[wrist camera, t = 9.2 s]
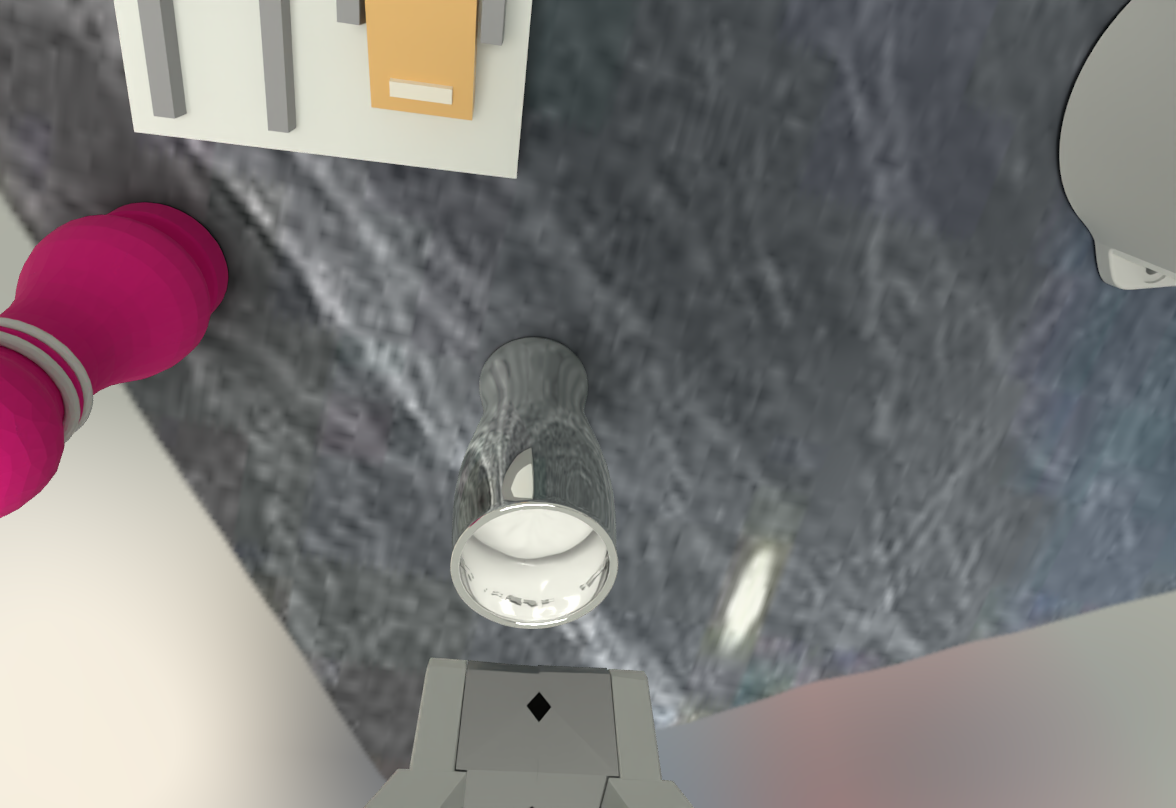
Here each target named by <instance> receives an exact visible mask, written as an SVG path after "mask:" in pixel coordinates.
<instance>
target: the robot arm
mask: <svg viewBox="0 0 1176 808" xmlns="http://www.w3.org/2000/svg"><path fill="white" fill-rule="evenodd" d="M1059 161H1060V172H1061V178H1062V183H1063V186H1064V190H1065V193H1066V195H1067V198H1068V200H1069V202H1070V204H1071V206H1072V208H1073V209H1074V211H1075V212H1076V214H1077V215H1078V216H1079V218H1080V219H1081V220H1082V222H1083V223H1084V224H1085V225H1086V227H1087V228H1088V229H1089V231H1090V232H1091V234H1092V236H1093V238H1094V240H1095V249H1096V258H1097V265H1098V270H1099V273H1100V276H1101V278H1102V280H1103V281H1104V282H1105V283H1107V284H1109V285H1112V286H1115V287H1117V288H1120V289H1124V290H1132V289H1144V288H1157V287H1169V286H1176V0H1131V1H1130V2H1129V4H1128V5H1127V6H1126V7H1125V8H1124V9H1123V10H1122V11H1121V12H1120V13H1119V15H1118V16H1117V17H1116V18H1115V20H1114V21H1113V22H1112V23H1111V24H1110V26H1109V27H1108V28H1107V30H1106V31H1105V33H1104V34H1103V35H1102V37H1101V38H1100V40H1099V41H1098V43H1097V44H1096V46H1095V47H1094V49H1093V50H1092V52H1091V54H1090V55H1089V57H1088V59H1087V61H1086V63H1085V64H1084V66H1083V68H1082V70H1081V72H1080V74H1079V76H1078V79H1077V81H1076V83H1075V85H1074V88H1073V91H1072V93H1071V96H1070V99H1069V102H1068V105H1067V108H1066V112H1065V115H1064V119H1063V125H1062V130H1061V137H1060V149H1059ZM466 668H467V671H466ZM364 808H694V807H693V806H692V804H691V803H690V802H689V801H688V799H687V798H686V797H685V796H684V794H683V793H682V792H681V790H680V789H679V788H678V787H677V785H676V784H675V783H674V782H673V781H669V780H662V775H661V768H660V762H659V755H658V748H657V741H656V734H655V727H654V720H653V713H652V706H651V699H650V692H649V685H648V678H647V676H646V674H645V673H644V671H634V670H617V669H609V670H607V668H593V667H571V666H549V665H538V666H529V665H517V664H505V663H494V662H482V661H471V660H468V663H467V660H455V659H441V658H430V660H429V663H428V666H427V669H426V675H425V681H424V687H423V693H422V699H421V704H420V710H419V716H418V722H417V728H416V734H415V739H414V745H413V751H412V757H411V763H410V769H397V771H396V772H395V773H394V774H393V775H392V776H391V777H390V778H389V780H388V781H387V782H386V783H385V784H384V785H383V787H382V788H381V789H380V790H379V791H378V792H377V793H376V794H375V795H374V796H373V798H372V799H371V800H370V801H369V802H368V803H367V804H366V806H365V807H364Z"/></svg>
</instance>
